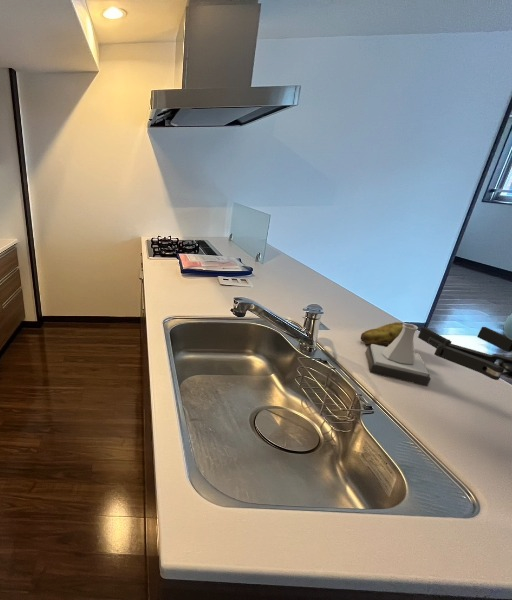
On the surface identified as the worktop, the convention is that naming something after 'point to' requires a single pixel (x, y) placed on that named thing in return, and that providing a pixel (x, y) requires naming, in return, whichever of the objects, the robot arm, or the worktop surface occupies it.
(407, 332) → the flask
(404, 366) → the scale
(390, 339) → the potato
